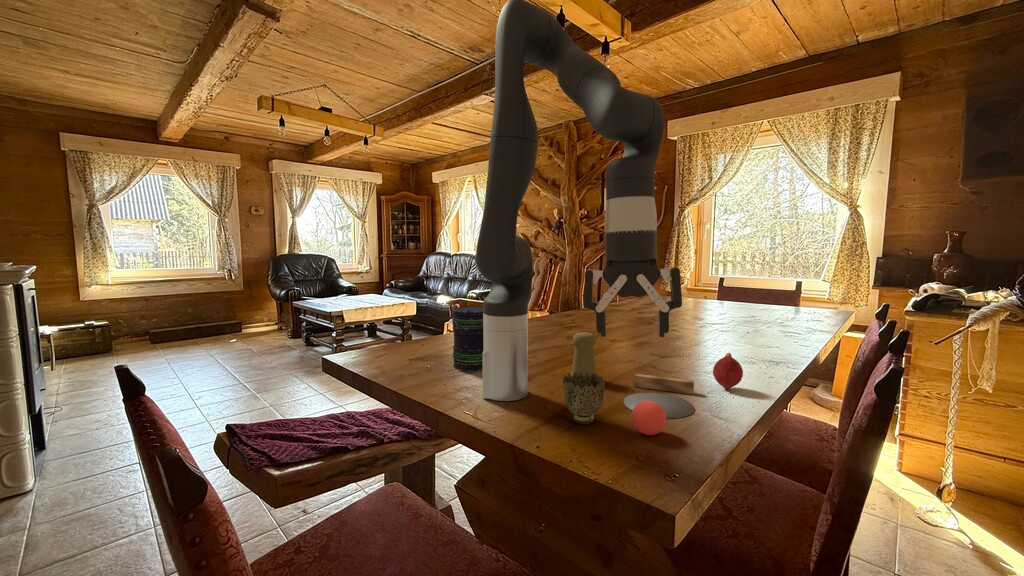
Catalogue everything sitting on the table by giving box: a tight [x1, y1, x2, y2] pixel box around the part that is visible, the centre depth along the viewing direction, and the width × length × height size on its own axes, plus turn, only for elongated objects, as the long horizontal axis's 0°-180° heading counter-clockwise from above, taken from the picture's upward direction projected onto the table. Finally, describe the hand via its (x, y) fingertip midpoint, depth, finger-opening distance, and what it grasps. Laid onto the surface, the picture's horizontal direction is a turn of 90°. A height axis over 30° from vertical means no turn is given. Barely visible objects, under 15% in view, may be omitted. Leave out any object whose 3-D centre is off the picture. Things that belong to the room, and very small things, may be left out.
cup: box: [562, 372, 606, 425], centre depth 76 cm, size 8×7×8 cm
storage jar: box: [451, 305, 483, 372], centre depth 111 cm, size 10×10×15 cm
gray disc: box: [623, 392, 695, 419], centre depth 85 cm, size 13×13×1 cm
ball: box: [631, 400, 667, 436], centre depth 72 cm, size 6×6×6 cm
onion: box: [712, 352, 744, 390], centre depth 93 cm, size 6×6×8 cm
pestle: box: [570, 331, 597, 376], centre depth 100 cm, size 6×6×11 cm
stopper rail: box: [633, 373, 695, 395], centre depth 93 cm, size 12×2×2 cm, turn 65°
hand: (631, 336), depth 66 cm, fingers open, 8 cm apart
